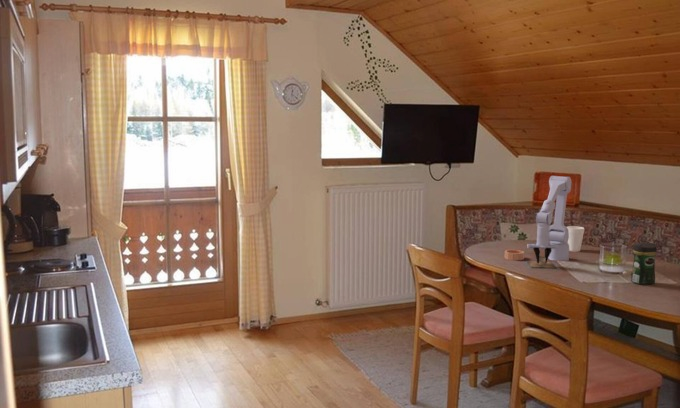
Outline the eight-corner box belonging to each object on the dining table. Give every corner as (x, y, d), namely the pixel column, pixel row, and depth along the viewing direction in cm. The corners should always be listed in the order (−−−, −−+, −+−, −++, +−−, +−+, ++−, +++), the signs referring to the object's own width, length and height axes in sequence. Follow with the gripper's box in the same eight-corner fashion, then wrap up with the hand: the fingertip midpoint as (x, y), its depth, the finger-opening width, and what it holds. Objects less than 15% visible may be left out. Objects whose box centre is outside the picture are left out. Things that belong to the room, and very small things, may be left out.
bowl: (522, 257, 336) (522, 250, 336) (525, 261, 327) (525, 253, 326) (503, 256, 338) (503, 249, 337) (506, 260, 328) (506, 253, 328)
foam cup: (580, 248, 359) (581, 226, 357) (585, 252, 350) (586, 229, 348) (563, 248, 360) (564, 225, 358) (567, 251, 351) (568, 228, 349)
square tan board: (551, 263, 321) (551, 254, 321) (556, 268, 310) (556, 260, 309) (527, 262, 323) (527, 254, 322) (531, 268, 311) (531, 259, 310)
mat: (554, 263, 323) (554, 262, 323) (561, 271, 308) (561, 270, 307) (522, 262, 325) (522, 261, 325) (527, 269, 309) (527, 268, 309)
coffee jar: (645, 280, 292) (649, 240, 289) (657, 284, 284) (661, 244, 281) (627, 281, 290) (630, 241, 287) (638, 285, 282) (641, 245, 280)
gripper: (529, 237, 311) (528, 264, 313) (559, 238, 309) (558, 265, 311) (527, 234, 318) (525, 260, 320) (556, 235, 316) (555, 261, 318)
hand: (541, 262), depth 316 cm, fingers closed on square tan board, 3 cm apart
